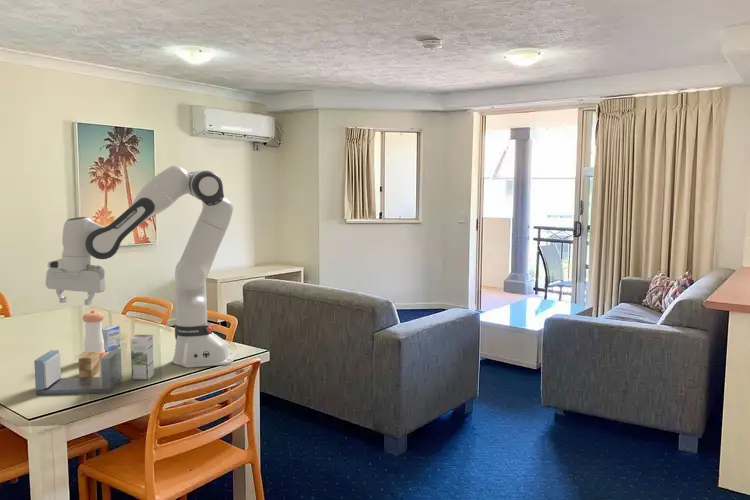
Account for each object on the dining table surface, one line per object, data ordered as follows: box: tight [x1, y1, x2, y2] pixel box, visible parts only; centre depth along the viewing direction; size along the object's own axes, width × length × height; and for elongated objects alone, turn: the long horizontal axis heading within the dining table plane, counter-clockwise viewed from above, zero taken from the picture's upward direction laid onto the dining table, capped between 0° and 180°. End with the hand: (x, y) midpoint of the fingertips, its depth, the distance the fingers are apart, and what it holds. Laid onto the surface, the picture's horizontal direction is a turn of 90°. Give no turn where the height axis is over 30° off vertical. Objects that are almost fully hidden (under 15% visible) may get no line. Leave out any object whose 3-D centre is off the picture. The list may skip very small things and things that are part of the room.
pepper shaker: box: [82, 309, 106, 363], centre depth 216 cm, size 7×7×19 cm
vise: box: [35, 348, 123, 396], centre depth 187 cm, size 22×12×11 cm, turn 97°
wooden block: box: [78, 352, 100, 378], centre depth 201 cm, size 4×8×7 cm, turn 7°
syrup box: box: [130, 334, 155, 381], centre depth 198 cm, size 6×6×14 cm
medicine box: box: [102, 325, 121, 352], centre depth 234 cm, size 8×4×9 cm, turn 168°
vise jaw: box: [33, 349, 62, 391], centre depth 186 cm, size 3×12×9 cm, turn 7°
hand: (75, 303), depth 201 cm, fingers open, 8 cm apart
